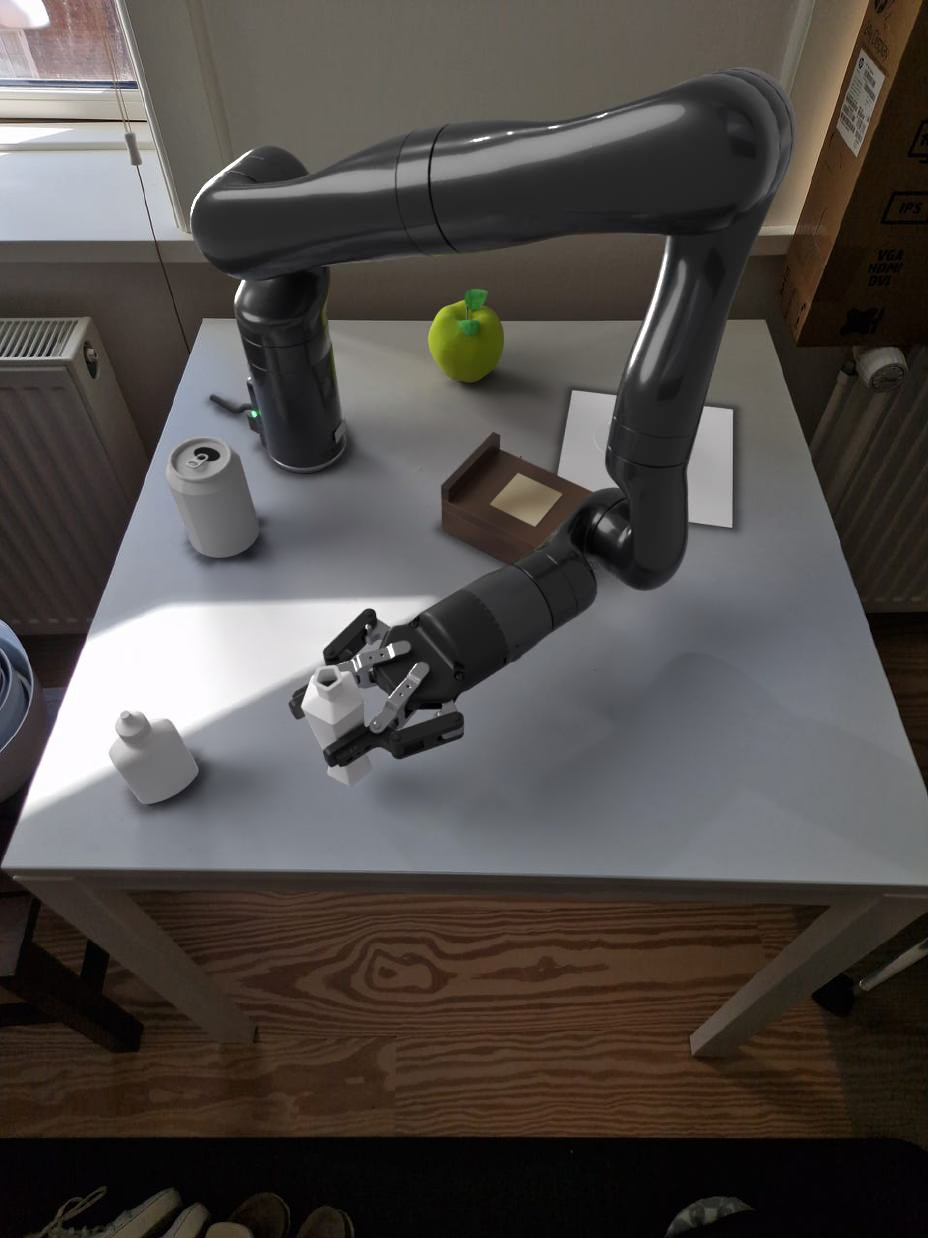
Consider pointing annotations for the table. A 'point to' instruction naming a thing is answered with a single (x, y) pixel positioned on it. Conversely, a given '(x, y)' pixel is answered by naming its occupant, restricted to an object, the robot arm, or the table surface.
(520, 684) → the table surface
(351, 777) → the white faceted vase
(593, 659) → the table surface
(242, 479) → the can
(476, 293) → the fruit
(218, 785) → the table surface
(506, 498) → the wooden display stand
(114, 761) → the eye dropper bottle
